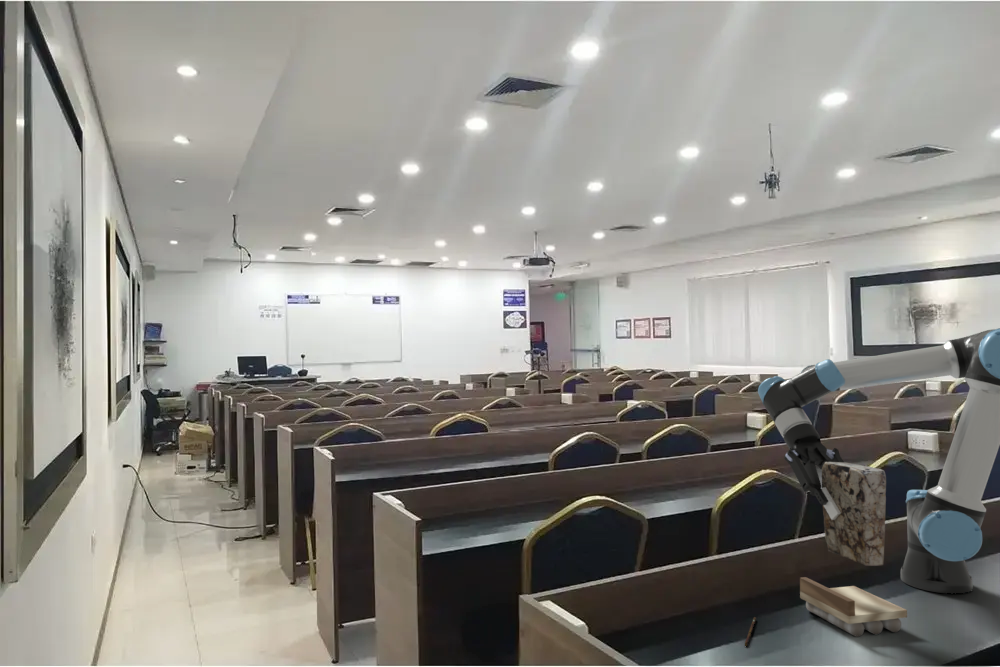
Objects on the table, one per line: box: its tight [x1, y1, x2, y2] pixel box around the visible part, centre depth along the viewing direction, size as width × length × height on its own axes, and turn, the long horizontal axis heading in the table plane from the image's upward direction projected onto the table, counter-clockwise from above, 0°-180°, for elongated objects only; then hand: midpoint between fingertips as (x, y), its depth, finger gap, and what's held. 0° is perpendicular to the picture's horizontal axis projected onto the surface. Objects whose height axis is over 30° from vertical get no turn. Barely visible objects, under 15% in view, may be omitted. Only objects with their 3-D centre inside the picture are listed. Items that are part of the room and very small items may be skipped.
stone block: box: [821, 461, 887, 567], centre depth 146 cm, size 13×7×20 cm, turn 19°
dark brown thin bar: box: [744, 616, 757, 647], centre depth 140 cm, size 15×1×1 cm, turn 153°
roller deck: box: [799, 576, 908, 638], centre depth 145 cm, size 14×15×8 cm
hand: (848, 515), depth 147 cm, fingers closed on stone block, 5 cm apart
